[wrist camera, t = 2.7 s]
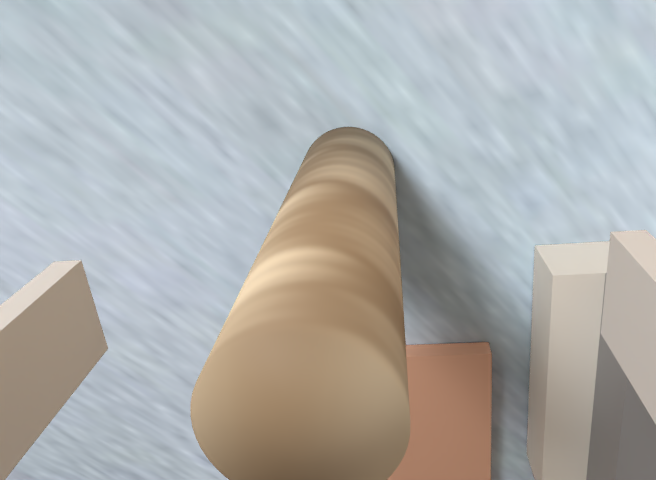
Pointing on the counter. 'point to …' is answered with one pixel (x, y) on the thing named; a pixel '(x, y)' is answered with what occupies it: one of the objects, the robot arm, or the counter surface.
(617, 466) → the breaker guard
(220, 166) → the counter surface
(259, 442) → the wooden cylinder
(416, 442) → the rest tile
